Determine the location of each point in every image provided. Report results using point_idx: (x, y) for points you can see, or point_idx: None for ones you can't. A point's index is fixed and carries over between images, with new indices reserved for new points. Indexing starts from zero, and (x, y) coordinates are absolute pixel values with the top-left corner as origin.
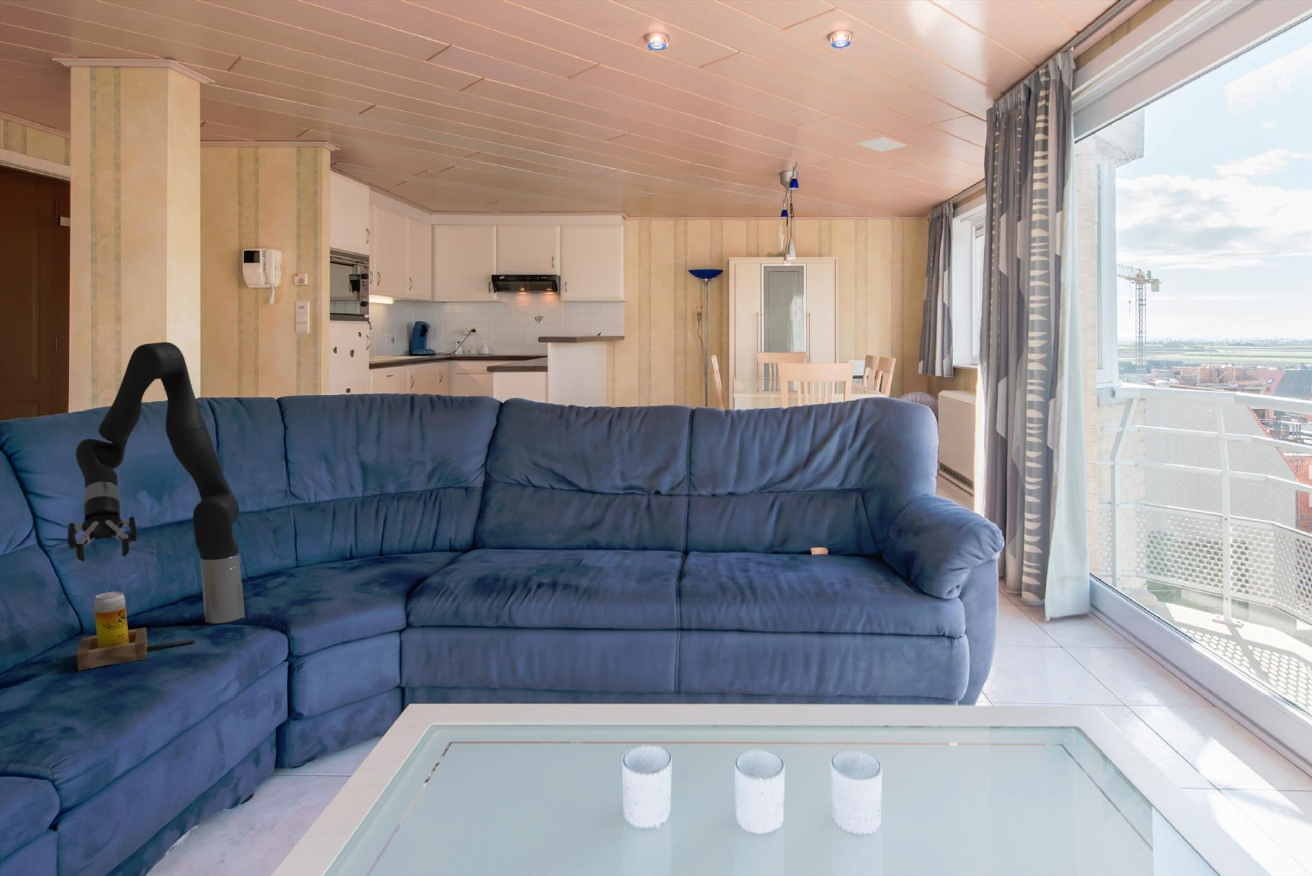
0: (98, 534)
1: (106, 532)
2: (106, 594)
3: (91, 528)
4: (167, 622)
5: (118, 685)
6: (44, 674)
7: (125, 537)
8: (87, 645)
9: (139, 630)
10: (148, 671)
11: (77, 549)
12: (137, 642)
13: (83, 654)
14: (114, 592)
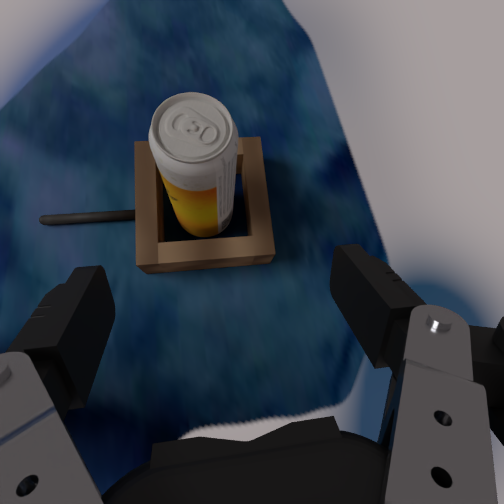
0: (295, 422)
1: (199, 464)
2: (203, 149)
3: (439, 498)
4: (101, 451)
5: (181, 62)
6: (312, 176)
7: (1, 364)
8: (251, 187)
9: (150, 245)
10: (138, 100)
11: (408, 291)
12: (149, 153)
13: (248, 138)
14: (179, 158)
